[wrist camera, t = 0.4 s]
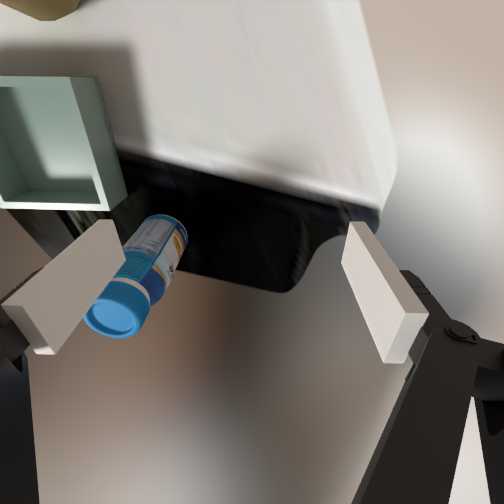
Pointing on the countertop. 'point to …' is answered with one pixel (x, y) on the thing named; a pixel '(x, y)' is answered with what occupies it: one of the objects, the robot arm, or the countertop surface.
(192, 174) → the countertop surface
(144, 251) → the beverage bottle
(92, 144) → the box
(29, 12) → the squeeze bottle
